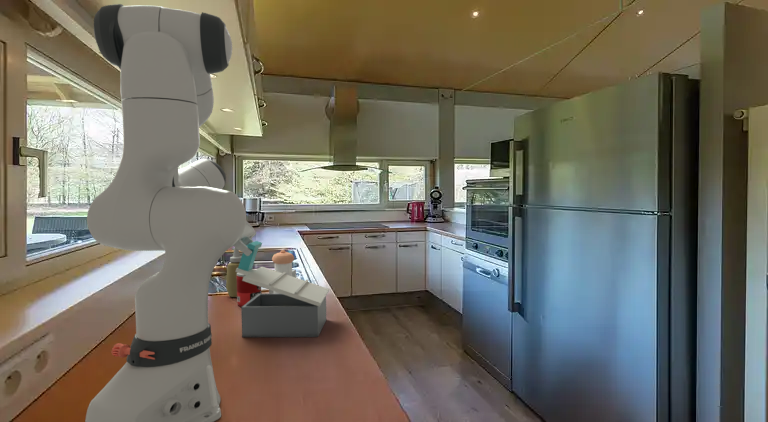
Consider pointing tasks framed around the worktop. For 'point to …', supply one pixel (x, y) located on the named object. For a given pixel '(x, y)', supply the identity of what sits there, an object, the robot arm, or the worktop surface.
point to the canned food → (245, 290)
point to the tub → (281, 317)
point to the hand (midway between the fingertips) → (253, 252)
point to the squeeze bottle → (233, 274)
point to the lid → (279, 280)
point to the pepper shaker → (283, 263)
